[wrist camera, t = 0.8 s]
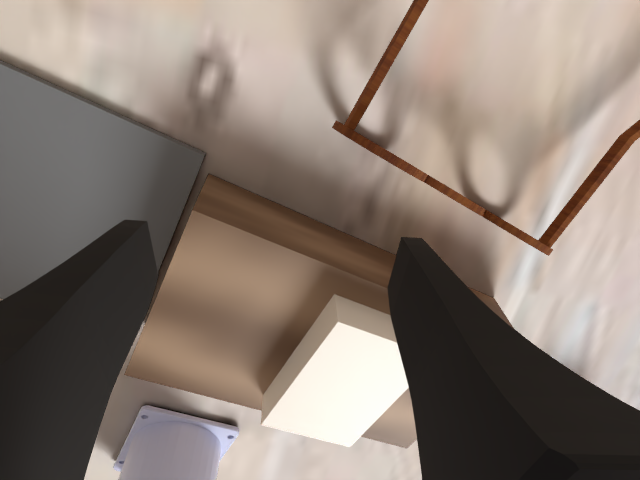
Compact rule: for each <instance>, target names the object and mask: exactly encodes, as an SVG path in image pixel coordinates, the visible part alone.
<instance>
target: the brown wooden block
mask: <svg viewBox="0 0 640 480" xmlns="http://www.w3.org/2000/svg"><path fill="white" fill-rule="evenodd" d="M395 259H396V255H394V254H392V253H389V252H387V251H385V250H382V249H380V248H378V247H376V246H373V245H371V244H369V243H366V242H364V241H362V240H360V239H357V238H355V237H353V236H350V235H348V234H346V233H344V232H341V231H339V230H337V229H334V228H332V227H330V226H328V225H325V224H323V223H321V222H318V221H316V220H314V219H311V218H309V217H307V216H305V215H302V214H300V213H298V212H295V211H293V210H291V209H289V208H286V207H284V206H282V205H279V204H277V203H275V202H273V201H270V200H268V199H266V198H263V197H261V196H259V195H257V194H254V193H252V192H250V191H247V190H245V189H243V188H241V187H238V186H236V185H234V184H231V183H229V182H227V181H225V180H222V179H220V178H218V177H215V176H213V175H211V174H208V176H207V178H206V181H205V183H204V185H203V187H202V190H201V192H200V194H199V196H198V199H197V201H196V203H195V205H194V207H193V210H192V212H191V215H190V217H189V219H188V222H187V224H186V227H185V229H184V231H183V234H182V236H181V239H180V241H179V244H178V246H177V248H176V251H175V253H174V256H173V258H172V261H171V263H170V265H169V268H168V270H167V273H166V275H165V277H164V280H163V282H162V285H161V287H160V290H159V292H158V294H157V297H156V299H155V302H154V304H153V306H152V309H151V311H150V314H149V316H148V319H147V321H146V323H145V326H144V328H143V331H142V333H141V336H140V338H139V340H138V343H137V345H136V348H135V350H134V352H133V355H132V357H131V360H130V362H129V365H128V367H127V369H126V372H125V374H124V375H127V376H131V377H135V378H138V379H142V380H146V381H150V382H154V383H158V384H161V385H165V386H169V387H173V388H177V389H181V390H184V391H188V392H192V393H196V394H200V395H204V396H208V397H211V398H215V399H219V400H223V401H227V402H231V403H234V404H238V405H242V406H246V407H250V408H254V409H257V410H261V411H262V404H263V394H264V393H265V392H266V390H267V389H268V387H269V386H270V384H271V383H272V382H273V380H274V379H275V377H276V376H277V375H278V373H279V372H280V370H281V369H282V367H283V366H284V365H285V363H286V362H287V360H288V359H289V358H290V356H291V355H292V353H293V352H294V350H295V349H296V348H297V346H298V345H299V343H300V342H301V341H302V339H303V338H304V336H305V335H306V333H307V332H308V331H309V329H310V328H311V326H312V325H313V324H314V322H315V321H316V319H317V318H318V316H319V315H320V314H321V312H322V311H323V309H324V308H325V307H326V305H327V304H328V302H329V301H330V299H331V298H332V297H333V295H334V294H336V295H338V296H341V297H343V298H346V299H349V300H351V301H354V302H357V303H359V304H362V305H365V306H367V307H370V308H372V309H375V310H378V311H380V312H383V313H386V314H388V315H390V307H389V298H388V289H387V287H388V284H389V280H390V276H391V273H392V269H393V266H394V262H395ZM468 288H469V287H468ZM469 289H470V290H471V291H472V292H473V293H474V294H475V295H476V296H477V297H478V298H479V299H480V300H481V301H483V302H484V303H485V304H486V305H487V306H488V307H489V308H490V309H491V310H492V311H493V312H494V313H496V314H497V315H498V316H499V317H500V318H501V319H502V320H504V321H505V322H506V323H507V324H508V325H510V326H511V327H512V325H511V324H510V322H509V320H508V319H507V317H506V316H505V314H504V313H503V311H502V310H501V308H500V307H499V305H498V303H497V302H496V300H495V299H494V298H492V297H490V296H488V295H485V294H483V293H481V292H479V291H476V290H474V289H472V288H469ZM512 328H513V327H512ZM513 329H514V328H513ZM361 437H365V438H369V439H373V440H376V441H380V442H384V443H388V444H392V445H396V446H399V447H403V448H408V447H409V446H410V445H411V444H412V443H413V442H414V441H416V440H417V434H416V427H415V420H414V414H413V407H412V401H411V396H410V391H409V388H408V389H407V390H406V391H405V392H404V393H403V394H402V395H401V396H400V397H399V398H398V399H397V400H396V401H395V402H394V403H393V404H392V405H391V406H390V407H389V408H388V409H387V410H386V411H385V412H384V413H383V414H382V415H381V416H380V417H379V418H378V419H377V420H376V421H375V422H374V423H373V424H372V425H371V426H370V427H369V428H368V429H367V430H366V431H365V432H364V434H363V435H362V436H361Z"/></svg>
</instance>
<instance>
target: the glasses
mask: <svg viewBox="0 0 640 480" xmlns="http://www.w3.org/2000/svg"><path fill="white" fill-rule="evenodd" d="M428 1H429V0H414V1H413V3H412V5H411V6H410V8H409V10H408V12H407V14H406V15H405V17H404V19H403V21H402V22H401V24H400V26H399V28H398V30H397V31H396V33H395V35H394V37H393V38H392V40H391V42H390V44H389V46H388V47H387V49H386V51H385V53H384V54H383V56H382V58H381V60H380V62H379V63H378V65H377V67H376V69H375V71H374V72H373V74H372V76H371V78H370V79H369V81H368V83H367V85H366V87H365V88H364V90H363V92H362V94H361V95H360V97H359V99H358V101H357V103H356V104H355V106H354V108H353V110H352V111H351V113H350V115H349V117H348V119H347V120H346V122H345V124H344V125H343V124H342V123H340V122H338V121H336V122H335V123H334V125H333V127H332V128H334V129H335V130H337V131H338V132H340V133H341V134H343V135H344V136H346V137H348V138H349V139H351V140H353V141H354V142H356V143H358V144H359V145H361V146H362V147H364V148H366V149H367V150H369V151H371V152H372V153H374V154H376V155H378V156H379V157H381V158H383V159H384V160H386V161H388V162H389V163H391V164H393V165H394V166H396V167H398V168H400V169H401V170H403V171H405V172H407V173H408V174H410V175H412V176H414V177H415V178H417V179H419V180H421V181H423V182H425V183H426V184H428V185H430V186H431V187H433V188H435V189H436V190H438V191H440V192H441V193H443V194H445V195H447V196H448V197H450V198H452V199H453V200H455V201H457V202H458V203H460V204H462V205H464V206H465V207H467V208H469V209H470V210H472V211H474V212H476V213H477V214H479V215H481V216H483V217H484V218H486V219H487V220H489V221H491V222H492V223H494V224H496V225H497V226H499V227H501V228H502V229H504V230H506V231H507V232H509V233H511V234H512V235H514V236H516V237H517V238H519V239H521V240H522V241H524V242H526V243H527V244H529V245H531V246H533V247H534V248H536V249H538V250H539V251H541V252H543V253H545V254H546V255H548V256H549V255H550V253H551V252H552V251H553V249H551V246H552V245H553V244H554V243H555V241H556V240H557V239H558V237H559V236H560V235H561V234H562V232H563V231H564V230H565V229H566V227H567V226H568V225H569V224H570V222H571V221H572V220H573V219H574V217H575V216H576V215H577V213H578V212H579V211H580V210H581V208H582V207H583V206H584V205H585V203H586V202H587V201H588V200H589V198H590V197H591V196H592V194H593V193H594V192H595V191H596V189H597V188H598V187H599V186H600V184H601V183H602V182H603V181H604V179H605V178H606V177H607V175H608V174H609V173H610V172H611V170H612V169H613V168H614V167H615V165H616V164H617V163H618V162H619V160H620V159H621V158H622V157H623V155H624V154H625V153H626V151H627V150H628V149H629V148H630V146H631V145H632V144H633V143H634V141H635V140H637V139H638V138H639V137H640V120H639V121H637V122H636V123H635V124H634V125H633V126H631V127H630V128H629V129H628V130H626V131H625V132H624V133H623V134H621V135H620V136H619V137H618V139H617V140H616V141H615V142H614V144H613V145H612V146H611V148H610V149H609V150H608V151H607V153H606V154H605V155H604V157H603V158H602V159H601V160H600V162H599V163H598V164H597V166H596V167H595V168H594V169H593V171H592V172H591V173H590V175H589V176H588V177H587V178H586V180H585V181H584V182H583V184H582V185H581V186H580V187H579V189H578V190H577V191H576V193H575V194H574V195H573V197H572V198H571V199H570V200H569V202H568V203H567V204H566V206H565V207H564V208H563V209H562V211H561V212H560V213H559V215H558V216H557V217H556V218H555V220H554V221H553V222H552V224H551V225H550V226H549V227H548V229H547V230H546V231H545V233H544V234H543V235H542V236H541V238H540V239H539V240H536V239H534V238H533V237H531V236H529V235H528V234H526V233H524V232H523V231H521V230H519V229H518V228H516V227H514V226H513V225H511V224H509V223H508V222H506V221H504V220H503V219H501V218H499V217H498V216H496V215H494V214H492V213H491V212H489V211H487V210H486V209H484V208H482V207H481V206H479V205H477V204H476V203H474V202H472V201H471V200H469V199H467V198H466V197H464V196H462V195H461V194H459V193H457V192H456V191H454V190H452V189H451V188H449V187H447V186H446V185H444V184H442V183H441V182H439V181H437V180H436V179H434V178H432V177H430V176H429V175H427V174H426V173H424V172H422V171H421V170H419V169H417V168H416V167H414V166H412V165H411V164H409V163H407V162H406V161H404V160H402V159H401V158H399V157H397V156H396V155H394V154H392V153H391V152H389V151H387V150H385V149H384V148H382V147H380V146H379V145H377V144H375V143H374V142H372V141H370V140H369V139H367V138H365V137H364V136H362V135H360V134H359V133H357V132H355V131H354V130H355V128H356V126H357V125H358V123H359V121H360V119H361V118H362V116H363V114H364V112H365V111H366V109H367V107H368V106H369V104H370V102H371V100H372V99H373V97H374V95H375V93H376V92H377V90H378V88H379V86H380V85H381V83H382V81H383V79H384V78H385V76H386V74H387V72H388V71H389V69H390V67H391V65H392V64H393V62H394V60H395V58H396V57H397V55H398V53H399V51H400V50H401V48H402V46H403V44H404V43H405V41H406V39H407V37H408V36H409V34H410V32H411V30H412V29H413V27H414V25H415V23H416V22H417V20H418V18H419V16H420V15H421V13H422V11H423V9H424V8H425V6H426V4H427V2H428Z"/></svg>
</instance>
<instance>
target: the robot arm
mask: <svg viewBox="0 0 640 480" xmlns="http://www.w3.org/2000/svg"><path fill="white" fill-rule="evenodd" d="M157 279H158V271H157V266H156V261H155V256H154V252H153V247H152V242H151V237H150V232H149V227H148V222H147V221H139V220H123V221H122V222H120V223H118V224H117V225H116V226H114V227H113V228H111V229H110V230H108V231H107V232H106V233H104V234H103V235H101V236H100V237H99V238H97V239H96V240H94V241H93V242H92V243H90V244H89V245H87V246H86V247H85V248H83V249H82V250H80V251H79V252H77V253H76V254H75V255H73V256H72V257H70V258H69V259H68V260H66V261H65V262H63V263H62V264H60V265H59V266H57V267H55V268H54V269H52V270H51V271H49V272H48V273H46V274H45V275H43V276H41V277H40V278H38V279H37V280H35V281H34V282H32V283H30V284H29V285H27V286H26V287H24V288H22V289H21V290H19V291H17V292H16V293H14V294H12V295H10V296H9V297H7V298H5V299H3V300H1V301H0V480H84V477H85V473H86V470H87V466H88V463H89V460H90V456H91V453H92V450H93V447H94V443H95V440H96V437H97V434H98V431H99V427H100V424H101V421H102V418H103V415H104V412H105V409H106V406H107V403H108V400H109V397H110V394H111V392H112V389H113V387H114V384H115V382H116V379H117V377H118V375H119V372H120V370H121V368H122V366H123V364H124V362H125V359H126V357H127V355H128V353H129V351H130V348H131V346H132V344H133V342H134V340H135V338H136V335H137V333H138V331H139V329H140V327H141V324H142V322H143V320H144V318H145V315H146V313H147V311H148V309H149V306H150V303H151V300H152V296H153V293H154V290H155V286H156V283H157ZM387 289H388V298H389V307H390V315H391V320H392V324H393V328H394V332H395V336H396V340H397V344H398V348H399V352H400V356H401V360H402V363H403V367H404V371H405V375H406V379H407V383H408V387H409V391H410V396H411V401H412V407H413V414H414V420H415V427H416V434H417V441H418V449H419V456H420V464H421V472H422V480H640V411H639V410H637V409H635V408H634V407H632V406H630V405H628V404H626V403H624V402H622V401H621V400H619V399H617V398H615V397H614V396H612V395H610V394H608V393H607V392H605V391H604V390H602V389H600V388H599V387H597V386H595V385H594V384H592V383H590V382H589V381H587V380H585V379H584V378H582V377H581V376H579V375H577V374H576V373H574V372H573V371H571V370H570V369H568V368H567V367H565V366H564V365H562V364H561V363H559V362H558V361H556V360H555V359H554V358H552V357H551V356H549V355H548V354H546V353H545V352H544V351H542V350H541V349H539V348H538V347H537V346H535V345H534V344H533V343H531V342H530V341H529V340H527V339H526V338H525V337H523V336H522V335H521V334H520V333H518V332H517V331H516V330H515V329H513V328H512V327H511V326H510V325H508V324H507V323H506V322H505V321H504V320H502V319H501V318H500V317H499V316H498V315H497V314H496V313H494V312H493V311H492V310H491V309H490V308H489V307H488V306H487V305H486V304H485V303H484V302H483V301H481V300H480V299H479V298H478V297H477V296H476V295H475V294H474V293H473V292H472V291H471V290H470V289H469V288H468V287H467V286H466V285H465V284H464V283H463V282H462V281H461V280H460V279H459V278H458V277H457V276H456V275H455V273H454V272H453V271H452V270H451V269H450V268H449V267H448V266H447V265H446V264H445V263H444V262H443V261H442V259H441V258H440V257H439V256H438V255H437V254H436V253H435V252H434V251H433V250H432V248H431V247H430V246H429V245H428V244H427V243H426V242H425V241H424V240H423V239H422V238H407V237H401V241H400V244H399V248H398V251H397V255H396V259H395V262H394V266H393V269H392V273H391V276H390V280H389V284H388V287H387ZM238 435H239V428H238V427H236V426H232V425H228V424H224V423H219V422H215V421H211V420H207V419H203V418H199V417H195V416H191V415H186V414H182V413H178V412H174V411H170V410H166V409H162V408H157V407H153V406H149V405H145V406H142V407H141V409H140V411H139V413H138V415H137V417H136V419H135V422H134V424H133V426H132V428H131V430H130V432H129V434H128V436H127V438H126V440H125V443H124V445H123V447H122V449H121V451H120V453H119V455H118V457H117V459H116V462H115V464H114V466H113V468H114V469H115V470H117V471H121V473H120V476H119V479H118V480H217V474H218V467H219V461H220V460H221V459H222V457H223V456H224V454H225V453H226V452H227V450H228V449H229V447H230V446H231V445H232V443H233V442H234V440H235V439H236V438H237V436H238Z"/></svg>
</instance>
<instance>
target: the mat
mask: <svg viewBox="0 0 640 480" xmlns="http://www.w3.org/2000/svg"><path fill="white" fill-rule="evenodd" d="M205 154H206V153H205V152H203V151H200V150H198V149H196V148H194V147H192V146H189V145H187V144H185V143H183V142H181V141H178V140H176V139H174V138H172V137H169V136H167V135H165V134H163V133H161V132H158V131H156V130H154V129H152V128H150V127H147V126H145V125H143V124H141V123H139V122H136V121H134V120H132V119H130V118H127V117H125V116H123V115H121V114H119V113H116V112H114V111H112V110H110V109H108V108H105V107H103V106H101V105H99V104H97V103H94V102H92V101H90V100H88V99H85V98H83V97H81V96H79V95H77V94H74V93H72V92H70V91H68V90H66V89H63V88H61V87H59V86H57V85H55V84H52V83H50V82H48V81H46V80H43V79H41V78H39V77H37V76H35V75H32V74H30V73H28V72H26V71H24V70H21V69H19V68H17V67H15V66H13V65H10V64H8V63H6V62H4V61H1V60H0V298H1V299H5V298H7V297H9V296H10V295H12V294H14V293H16V292H17V291H19V290H21V289H22V288H24V287H26V286H27V285H29V284H30V283H32V282H34V281H35V280H37V279H38V278H40V277H41V276H43V275H45V274H46V273H48V272H49V271H51V270H52V269H54V268H55V267H57V266H59V265H60V264H62V263H63V262H65V261H66V260H68V259H69V258H70V257H72V256H73V255H75V254H76V253H77V252H79V251H80V250H82V249H83V248H85V247H86V246H87V245H89V244H90V243H92V242H93V241H94V240H96V239H97V238H99V237H100V236H101V235H103V234H104V233H106V232H107V231H108V230H110V229H111V228H113V227H114V226H116V225H117V224H118V223H120V222H122V221H123V220H139V221H147V222H148V227H149V232H150V237H151V242H152V247H153V252H154V256H155V261H156V266H157V271H158V272H159V269H160V267H161V264H162V262H163V259H164V257H165V254H166V252H167V249H168V247H169V244H170V242H171V239H172V237H173V234H174V232H175V229H176V227H177V224H178V222H179V219H180V217H181V214H182V212H183V209H184V207H185V204H186V202H187V199H188V197H189V194H190V192H191V189H192V187H193V184H194V182H195V179H196V177H197V174H198V172H199V169H200V167H201V164H202V162H203V159H204V157H205Z"/></svg>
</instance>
